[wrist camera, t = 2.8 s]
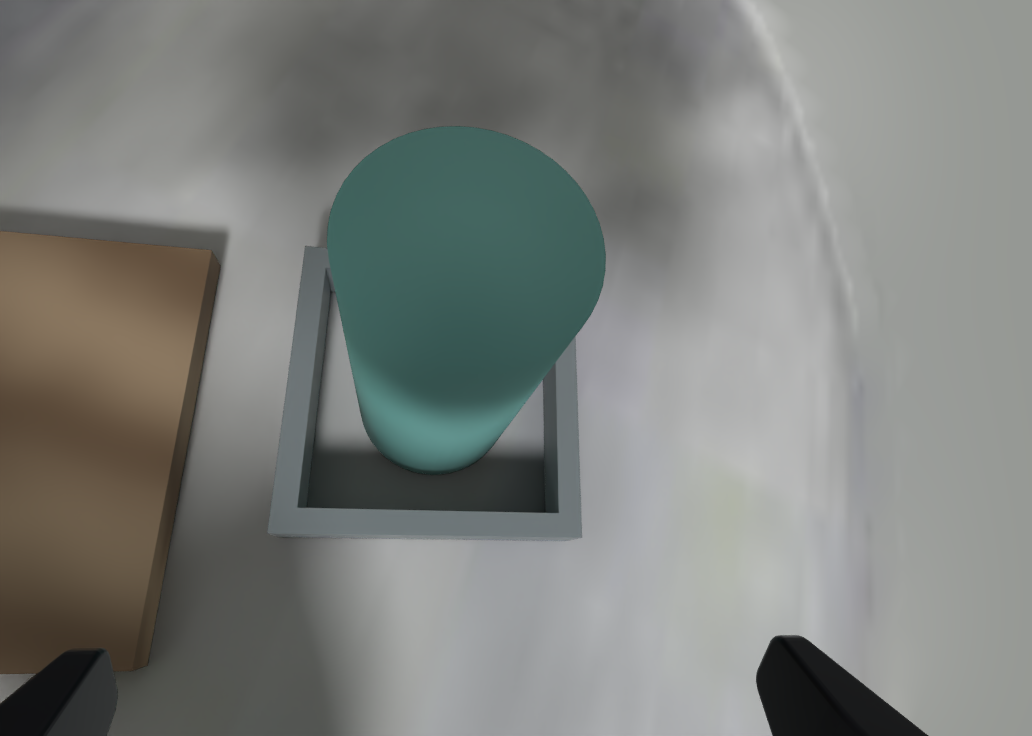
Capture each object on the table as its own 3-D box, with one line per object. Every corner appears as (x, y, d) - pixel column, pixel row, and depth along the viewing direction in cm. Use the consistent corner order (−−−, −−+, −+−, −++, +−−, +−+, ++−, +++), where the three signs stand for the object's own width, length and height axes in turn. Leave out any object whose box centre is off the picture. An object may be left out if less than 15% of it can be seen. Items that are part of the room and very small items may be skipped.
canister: (505, 476, 23) (612, 381, 12) (353, 471, 22) (310, 363, 11) (506, 339, 25) (599, 144, 14) (366, 329, 24) (341, 109, 13)
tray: (566, 540, 22) (582, 537, 21) (278, 537, 21) (267, 533, 19) (560, 293, 26) (573, 271, 24) (312, 271, 24) (305, 246, 22)
